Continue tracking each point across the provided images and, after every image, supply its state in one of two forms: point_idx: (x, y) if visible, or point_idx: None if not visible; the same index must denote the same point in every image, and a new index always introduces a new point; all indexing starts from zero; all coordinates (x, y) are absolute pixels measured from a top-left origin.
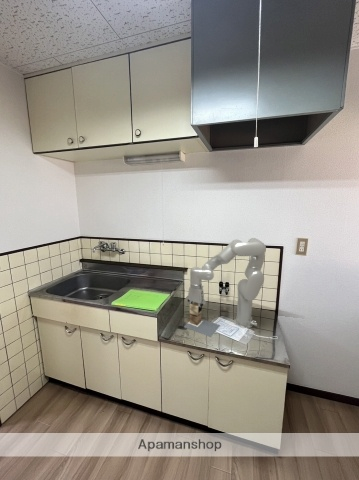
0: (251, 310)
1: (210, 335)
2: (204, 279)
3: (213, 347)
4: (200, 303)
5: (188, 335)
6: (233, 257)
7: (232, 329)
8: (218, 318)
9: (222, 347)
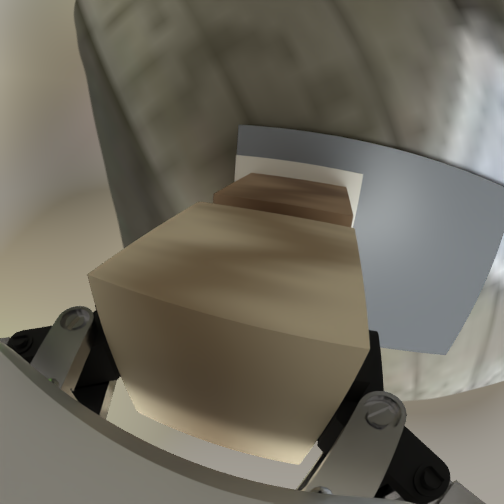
0: None
1: (445, 342)
2: None
3: (447, 393)
4: (338, 460)
5: None
6: None
7: None
8: (469, 60)
9: (487, 377)
